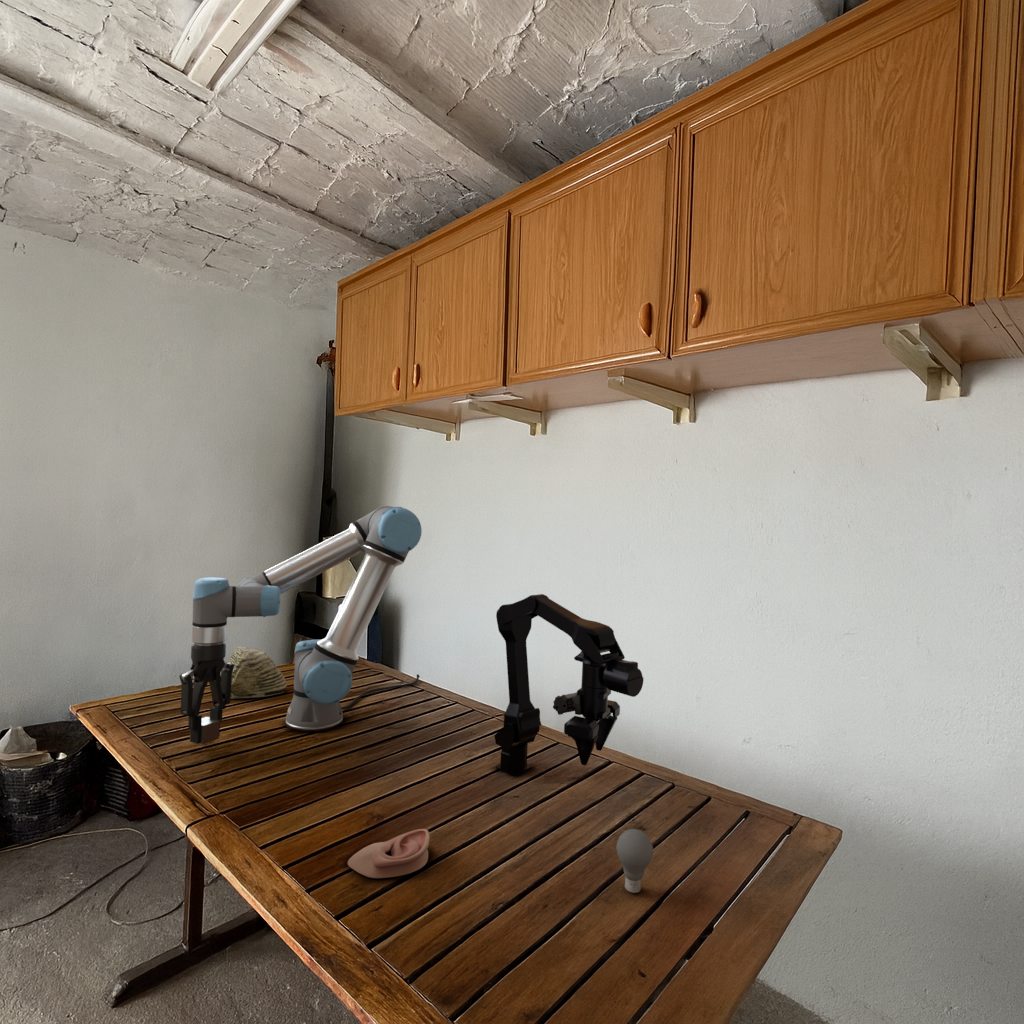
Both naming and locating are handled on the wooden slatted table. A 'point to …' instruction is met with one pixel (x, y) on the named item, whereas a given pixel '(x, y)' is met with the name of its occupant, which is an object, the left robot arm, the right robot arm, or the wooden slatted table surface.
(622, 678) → the right robot arm
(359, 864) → the anatomical model
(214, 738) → the block
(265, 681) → the fossil
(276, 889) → the wooden slatted table surface
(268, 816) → the wooden slatted table surface
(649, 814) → the wooden slatted table surface
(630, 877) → the light bulb
